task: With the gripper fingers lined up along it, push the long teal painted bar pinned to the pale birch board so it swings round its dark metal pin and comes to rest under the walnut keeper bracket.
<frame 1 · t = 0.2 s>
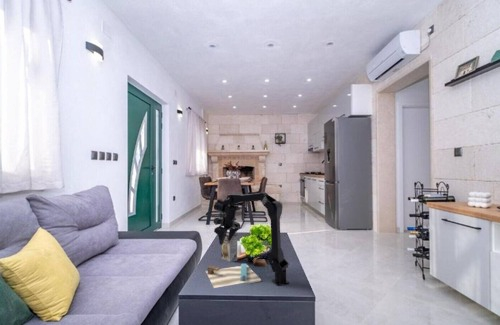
hand: (225, 242, 144), 15 cm above the table, tool pointing down, fingers open, 9 cm apart
coffee box: (229, 260, 159), on the table
base board: (232, 276, 134), on the table
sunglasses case: (259, 262, 156), on the table
link bar: (243, 271, 136), point 2 cm above the table, hinge at 0.0°
keeper: (215, 274, 135), resting on base board
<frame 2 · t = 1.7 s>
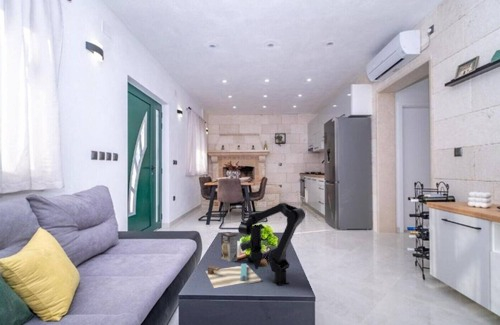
hand: (256, 265, 136), 5 cm above the table, tool pointing down, fingers open, 9 cm apart
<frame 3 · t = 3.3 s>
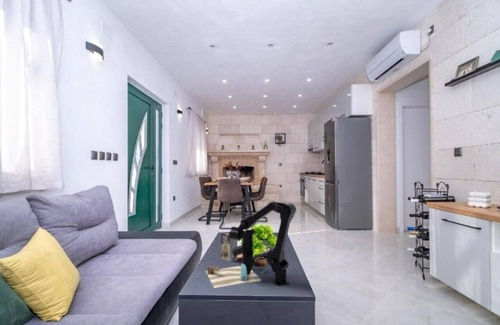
hand: (248, 270, 136), 2 cm above the table, tool pointing down, fingers open, 9 cm apart
link bar: (243, 271, 136), point 2 cm above the table, hinge at 0.5°, touching gripper
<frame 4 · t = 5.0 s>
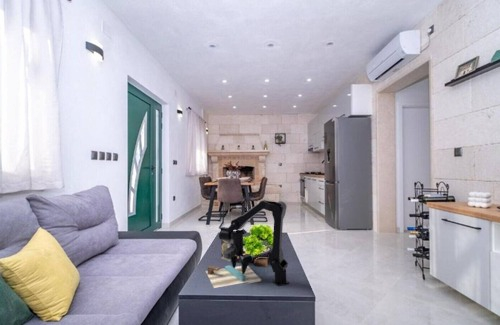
hand: (238, 270, 136), 2 cm above the table, tool pointing down, fingers open, 9 cm apart
link bar: (235, 272, 134), point 2 cm above the table, hinge at 31.9°, touching gripper
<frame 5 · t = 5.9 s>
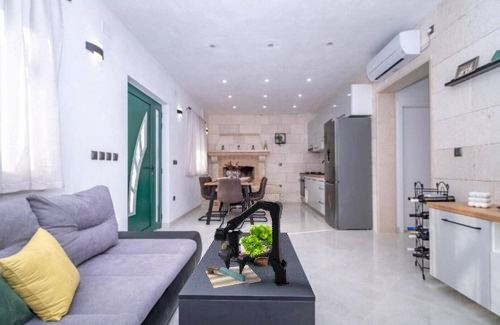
hand: (234, 271, 135), 2 cm above the table, tool pointing down, fingers open, 9 cm apart
link bar: (231, 273, 133), point 2 cm above the table, hinge at 47.3°, touching gripper
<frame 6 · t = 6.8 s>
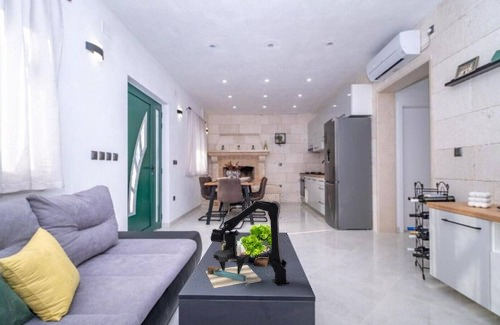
hand: (230, 272, 134), 2 cm above the table, tool pointing down, fingers open, 9 cm apart
link bar: (229, 274, 132), point 2 cm above the table, hinge at 60.1°, touching gripper
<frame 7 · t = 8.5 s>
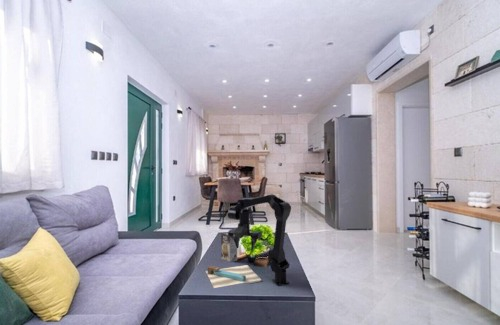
hand: (244, 249, 142), 12 cm above the table, tool pointing down, fingers open, 9 cm apart
link bar: (229, 274, 132), point 2 cm above the table, hinge at 60.1°
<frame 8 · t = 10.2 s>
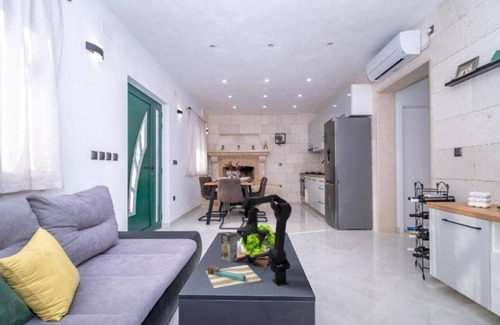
hand: (253, 246, 146), 12 cm above the table, tool pointing down, fingers open, 9 cm apart
at the end: link bar at +60° (first picture: +0°) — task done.
